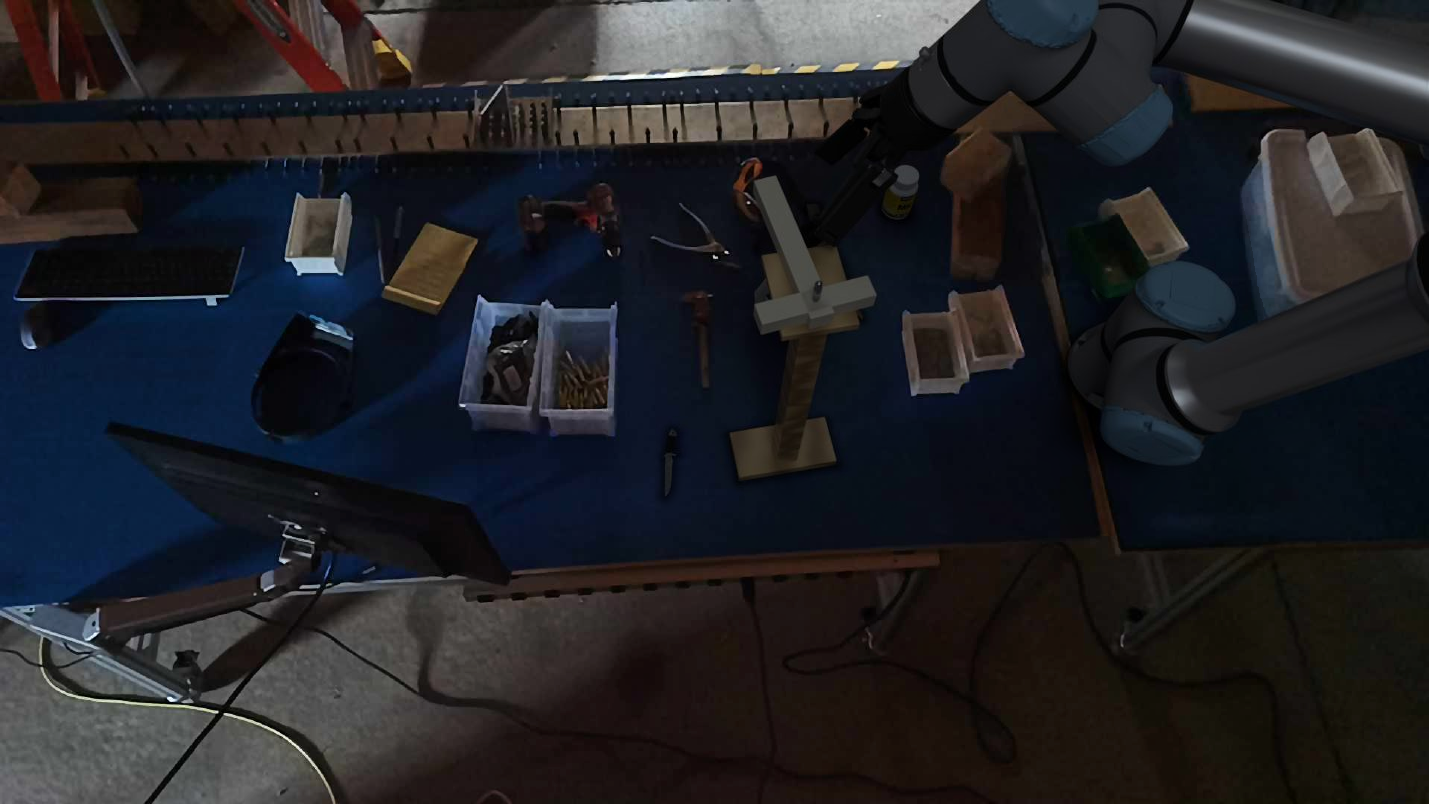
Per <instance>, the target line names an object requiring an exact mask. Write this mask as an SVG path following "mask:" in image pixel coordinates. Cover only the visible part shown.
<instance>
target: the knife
mask: <svg viewBox="0 0 1429 804" xmlns="http://www.w3.org/2000/svg"><path fill="white" fill-rule="evenodd" d="M677 435H678V434H677V432H676V431H675V430H674V429H671V430H670V432H669V434H668V437H667V440H666V451H665V455H663V458H665V463H664V497H667V495H668V494H669V492H670V489H671V485H672V474H673V473H672V472H673V462H674V459H673V457H675V456H677V453H675V454H674V453H673V451H674V449H675V450H677V449H678V448H677V447H675V446H674V445H675V438H676V436H677Z"/></svg>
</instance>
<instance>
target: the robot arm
mask: <svg viewBox="0 0 1429 804" xmlns="http://www.w3.org/2000/svg"><path fill="white" fill-rule="evenodd" d="M1153 64H1154V65H1156V66H1157V65H1158V66H1159V67H1164V68H1167V69H1170V70H1174V71H1177V72H1181V73H1183V74H1187V75H1190V76H1193V77H1197V78H1200V79H1203V80H1206V81H1210V82H1213V83H1216V84H1220V85H1223V86H1227V87H1229V88H1233V89H1236V90H1239V91H1243V92H1246V93H1249V94H1251V95H1252V94H1253V95H1255V96H1259V97H1262V98H1266V99H1269V100H1272V101H1276V102H1279V103H1282V104H1285V105H1289V106H1292V107H1296V108H1299V109H1302V110H1305V111H1309V112H1312V113H1314V114H1315V113H1316V114H1319V115H1322V116H1325V117H1329V118H1331V119H1335V120H1339V121H1342V122H1345V123H1348V124H1352V125H1355V126H1357V127H1362V128H1365V129H1369V130H1371V131H1375V132H1378V133H1382V134H1385V135H1388V136H1391V137H1394V138H1398V139H1401V140H1404V141H1408V142H1411V143H1413V144H1414V143H1415V144H1417V145H1418V147H1419V150H1420V153H1421V156H1422V157H1423V158H1424V159H1425V160H1427V161H1429V45H1426V44H1423V43H1419V42H1416V41H1413V40H1408V39H1406V38H1401V37H1398V36H1395V35H1392V34H1387V33H1384V32H1382V31H1379V30H1374V29H1370V28H1368V27H1364V26H1360V25H1356V24H1353V23H1351V22H1346V21H1342V20H1339V19H1335V18H1333V17H1329V16H1326V15H1323V14H1318V13H1316V12H1315V13H1314V12H1311V11H1308V10H1304V9H1301V8H1297V7H1294V6H1290V5H1288V4H1284V3H1280V2H1277V1H1273V0H979V1H977V3H975V4H974V5H973V6H972V7H971V8H970V9H969V10H968V11H967V12H966V13H965V14H964V15H963V16H962V17H961V18H960V19H958V20H957V22H955V23H954V24H953V26H951V27H950V28H949V29H948V30H946V31H945V33H943V34H942V35H941V36H940V37H939V38H938V39H937V40H936V41H934V42H933V43H932V44H931V45H930V46H929V47H928V46H926V45H924V46H922V47H921V48H920V50H918V57H916V59H915V60H914V61H913V62H912V64H910V65H908V66H906V67H905V68H904V69H903V70H902V71H901V72H900V73H899V74H897V75H896V76H895V77H894V78H893V79H892V80H891V81H889V82H887V83H885V84H883V85H880V86H878V87H875V88H873V89H871V90H869V91H866V92H864V93H863V94H861V96H860V97H859V99H858V103H859V104H860V107H856V108H855V109H854V110H853V111H852V114H851V116H850V117H851V118H848V119H847V120H846V121H844V123H842V124H841V125H840V126H839V127H838V128H837V129H836V130H835V131H834V132H832V134H830V135H829V136H828V137H827V138H826V139H825V140H824V141H823V142H821V144H819V145H818V146H817V147H816V148H815V150H814V155H815V156H817V157H818V158H820V159H821V160H823V161H824V162H826V163H827V164H829V165H830V166H831V167H833V166H835V165H836V164H837V163H838V162H840V160H842V159H843V158H844V157H845V156H847V154H849V153H850V152H851V151H853V149H855V148H856V147H857V146H858V145H859V144H861V142H862V141H864V140H865V139H866V141H865V142H864V144H863V146H862V147H861V148H860V150H859V152H857V154H856V155H855V157H854V158H853V160H852V164H853V168H852V169H851V171H850V172H849V173H848V175H847V176H846V178H845V179H844V181H843V182H842V183H841V185H840V186H839V187H838V189H837V190H836V192H835V193H834V195H832V197H831V198H830V200H829V202H828V203H827V205H826V206H825V207H824V208H823V210H822V211H821V214H819V213H818V212H817V213H815V214H814V215H813V214H812V215H811V217H810V218H809V217H808V218H807V220H806V221H804V222H803V223H802V224H800V225H799V226H798V229H799V231H800V233H801V236H802V238H803V240H804V243H805V245H806V247H807V248H814V247H815V246H817V245H818V244H819V243H821V242H822V241H825V242H826V243H828V244H829V245H831V246H832V247H837V246H838V245H840V243H841V242H842V241H843V239H844V238H845V237H846V236H847V235H848V234H849V232H850V231H851V230H852V229H853V228H854V227H855V225H857V223H859V221H860V220H861V219H862V218H863V217H864V215H865V214H866V213H867V212H868V211H869V210H870V208H871V207H872V206H873V205H874V204H875V203H876V202H877V201H878V199H879V198H880V197H881V196H882V195H883V194H885V193H886V190H887V189H888V188H890V187H891V186H892V185H893V184H894V183H895V182H896V181H897V179H898V174H896V173H895V172H894V171H893V168H894V166H895V165H896V164H897V163H900V162H901V161H902V159H903V158H904V157H905V155H906V154H907V152H928V151H931V150H933V149H935V148H936V147H937V146H938V145H940V144H941V143H942V142H943V141H945V140H947V139H948V138H949V137H951V136H952V135H954V133H956V132H957V131H958V129H961V128H963V127H964V126H965V125H966V124H968V123H969V122H971V121H972V120H974V119H975V118H976V117H977V116H979V115H980V114H981V113H983V112H984V111H985V110H987V109H988V108H989V107H991V106H992V105H993V104H994V103H996V102H997V101H998V100H1000V99H1001V98H1002V97H1003V96H1005V95H1006V94H1008V93H1010V92H1011V93H1012V94H1014V95H1015V96H1016V97H1017V98H1018V99H1020V100H1021V101H1022V102H1023V103H1025V105H1026V106H1028V107H1030V108H1031V109H1033V110H1034V111H1035V112H1036V113H1037V114H1038V115H1039V116H1041V117H1042V118H1043V119H1044V120H1045V121H1046V122H1047V123H1048V124H1050V125H1051V126H1052V127H1053V128H1054V129H1055V130H1056V131H1057V132H1058V133H1060V134H1061V135H1062V136H1063V137H1065V138H1066V139H1067V140H1068V141H1069V142H1070V143H1071V144H1072V145H1073V148H1075V149H1076V150H1080V151H1082V152H1084V153H1085V154H1087V155H1088V156H1090V157H1091V158H1093V160H1095V161H1097V162H1098V163H1099V164H1101V165H1103V166H1105V167H1109V168H1110V167H1112V168H1113V167H1116V168H1117V167H1121V166H1124V165H1126V164H1128V163H1130V162H1132V161H1133V160H1136V159H1137V158H1140V157H1142V156H1143V155H1144V154H1145V153H1147V152H1148V151H1150V149H1151V148H1152V147H1153V146H1154V145H1156V143H1157V142H1158V141H1159V140H1160V139H1161V137H1162V136H1163V135H1164V133H1165V132H1166V130H1167V129H1168V127H1169V125H1170V123H1171V121H1172V118H1173V113H1174V105H1173V103H1172V100H1171V99H1170V97H1169V96H1168V95H1167V94H1166V92H1164V90H1163V89H1162V86H1161V85H1160V84H1159V83H1155V82H1154V81H1152V79H1151V77H1150V76H1151V71H1152V65H1153ZM865 128H866V129H867V130H868V131H867V130H866V129H865ZM865 159H867V160H868V161H869V162H872V164H869V165H868V164H867V163H865V162H864V161H865ZM1235 299H1236V298H1235V296H1234V294H1233V292H1232V290H1231V288H1230V286H1229V285H1228V284H1227V283H1226V282H1225V281H1224V280H1221V278H1220V277H1219V275H1217V274H1216V273H1215V272H1213V271H1212V270H1211V269H1208V268H1206V267H1204V266H1202V265H1200V264H1196V263H1193V262H1189V261H1184V260H1168V261H1164V262H1162V263H1159V264H1155V265H1154V266H1152V267H1150V268H1149V269H1148V270H1147V271H1146V272H1144V274H1143V275H1142V276H1140V277H1139V278H1137V280H1136V282H1135V284H1134V285H1133V287H1132V288H1131V290H1130V291H1129V292H1128V293H1127V294H1126V296H1125V298H1124V299H1123V300H1122V301H1121V303H1120V304H1119V305H1118V306H1117V308H1116V309H1115V310H1114V311H1113V313H1112V314H1111V315H1110V317H1109V318H1108V319H1107V320H1106V321H1104V322H1102V323H1099V324H1098V325H1095V326H1093V327H1091V328H1088V329H1087V330H1086V331H1084V332H1083V333H1081V334H1080V335H1079V336H1078V337H1077V338H1076V339H1075V341H1074V342H1073V344H1072V345H1071V346H1072V347H1071V346H1070V348H1069V349H1068V352H1067V354H1066V357H1065V363H1064V366H1065V367H1064V370H1065V376H1066V379H1067V382H1068V385H1069V387H1070V388H1071V390H1072V392H1073V393H1074V395H1076V397H1077V398H1078V399H1079V400H1080V401H1081V402H1082V403H1083V404H1084V405H1085V406H1087V407H1088V408H1089V409H1091V410H1092V411H1094V412H1096V413H1097V414H1099V415H1100V423H1099V432H1100V436H1101V438H1102V440H1103V441H1104V443H1105V444H1106V445H1107V446H1109V447H1110V448H1111V449H1112V450H1114V451H1116V452H1117V453H1118V454H1121V455H1123V456H1125V457H1128V458H1130V459H1133V460H1135V461H1138V462H1142V463H1147V464H1151V465H1156V466H1165V467H1166V466H1167V467H1178V466H1185V465H1186V466H1187V465H1190V464H1192V463H1195V462H1196V461H1197V460H1198V459H1199V458H1200V457H1201V455H1202V452H1203V451H1204V447H1205V445H1204V444H1203V443H1204V440H1205V439H1206V438H1208V437H1211V436H1214V435H1216V434H1219V433H1223V432H1226V431H1228V430H1229V429H1231V428H1233V427H1235V426H1236V425H1237V423H1238V422H1239V420H1240V419H1241V416H1242V415H1243V412H1245V411H1248V410H1251V409H1253V408H1256V407H1259V406H1262V405H1265V404H1269V403H1272V402H1274V401H1278V400H1280V399H1284V398H1286V397H1289V396H1293V395H1295V394H1299V393H1301V392H1304V391H1307V390H1311V389H1313V388H1317V387H1319V386H1323V385H1326V384H1328V383H1332V382H1335V381H1337V380H1341V379H1343V378H1346V377H1349V376H1353V375H1355V374H1358V373H1362V372H1364V371H1367V370H1370V369H1371V370H1372V369H1374V368H1377V367H1380V366H1383V365H1386V364H1389V363H1391V362H1394V361H1398V360H1402V359H1403V358H1407V357H1409V356H1412V355H1416V354H1418V353H1421V352H1425V351H1428V350H1429V230H1427V231H1425V232H1424V233H1422V234H1421V235H1420V236H1419V237H1418V238H1417V239H1416V241H1415V243H1414V246H1413V250H1412V252H1411V255H1410V256H1409V257H1407V258H1404V259H1402V260H1399V261H1397V262H1394V263H1393V264H1390V265H1388V266H1386V267H1383V268H1382V269H1379V270H1376V271H1375V272H1372V273H1370V274H1368V275H1365V276H1363V277H1360V278H1357V279H1355V280H1353V281H1351V282H1349V283H1347V284H1344V285H1342V286H1340V287H1338V288H1335V289H1333V290H1330V291H1327V292H1326V293H1323V294H1321V295H1318V296H1316V297H1313V298H1311V299H1310V300H1307V301H1304V302H1302V303H1300V304H1297V305H1295V306H1293V307H1291V308H1287V309H1285V310H1282V311H1281V312H1278V313H1277V314H1274V315H1272V316H1270V317H1267V318H1265V319H1263V320H1262V319H1261V320H1260V321H1257V322H1256V323H1253V324H1251V325H1249V326H1246V327H1244V328H1242V329H1239V330H1237V331H1234V332H1232V333H1230V334H1228V335H1227V334H1226V335H1225V336H1223V337H1221V338H1220V337H1219V338H1218V336H1219V334H1220V332H1223V330H1225V329H1226V328H1228V326H1229V325H1230V323H1231V321H1232V319H1233V318H1234V316H1235V314H1236V307H1237V306H1236V305H1237V304H1236V300H1235ZM1217 338H1218V339H1217Z"/></svg>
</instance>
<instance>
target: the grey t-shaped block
mask: <svg viewBox="0 0 1429 804" xmlns="http://www.w3.org/2000/svg"><path fill="white" fill-rule="evenodd" d="M752 188H753V189H752V194H753V196H754V199H755V202H756V204H757V206H758V209H759V211H760V215H761V216H762V218H763V221H764V224H765V226H766V228H767V231H768V233H769V235H770V238H771V240H772V244H773V246H774V248H775V251H776V253H778V255H779V258H780V260H781V263H782V265H783V268H784V270H785V273H786V275H787V278H788V280H789V282H790V285H791V287H792V290H793V292H794V294H792V295H788V296H784V297H780V298H777V299H773V300H771V299H769V301H765V302H761V303H757V304H755V303H754V305H753V318H754V320H755V323H756V326H757V329H758V331H759V333H760V335H762V336H763V335H765V334H770V333H774V332H777V331H778V332H779V330H782V329H785V328H789V327H793V326H797V325H801V324H805V323H806V324H807V327H808V329H812V328H816V327H820V326H824V325H827V324H831V323H832V321H833V317H834V316H835V315H839V314H843V313H847V312H851V311H855V310H858V309H859V310H861V309H866V308H869V307H870V308H871V307H873V306H874V305H875V301H876V298H877V297H878V296H877V293H876V290H875V288H874V286H873V284H872V281H871V279H870V277H869V275H868V274H867V275H863V276H859V277H856V278H855V277H854V278H851V279H847V281H843V282H839V283H835V284H831V285H828V286H824V287H823V282H822V281H821V280H820V278H819V275H818V273H817V271H816V268H815V266H814V264H813V261H812V259H811V257H810V254H809V252H808V250H807V247H806V245H805V243H804V240H803V238H802V236H801V233H800V231H799V229H798V227H799V226H798V224H797V221H796V220H795V217H794V214H793V212H792V209H791V208H790V205H789V202H788V201H787V198H786V196H785V194H784V191H783V189H782V187H781V184H780V182H779V180H778V177H777V175H772V176H767V177H764V178H763V177H762V178H759V179H755V180H753V187H752Z"/></svg>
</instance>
